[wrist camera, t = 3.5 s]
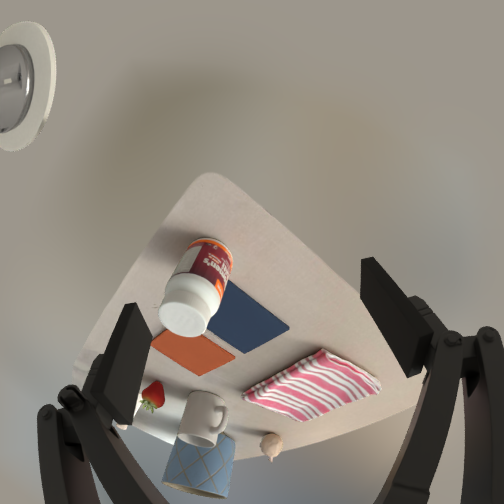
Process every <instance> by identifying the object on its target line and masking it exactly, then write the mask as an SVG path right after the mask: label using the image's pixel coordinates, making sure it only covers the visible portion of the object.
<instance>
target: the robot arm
mask: <svg viewBox="0 0 504 504" xmlns="http://www.w3.org/2000/svg"><path fill="white" fill-rule="evenodd" d="M33 91H34V66H33V61H32V58H31V55H30V53H29V51H28V50H27V49H26V48H25V47H24V46H23V45H21V44H10V45H5V46H3V47H1V48H0V133H6V132H8V131H11V130H13V129H15V128H17V127H18V126H19V125H20V124H21V123H22V121H23V120H24V118H25V117H26V115H27V113H28V110H29V108H30V105H31V101H32V97H33ZM360 299H361V300H362V302H363V303H364V305H365V307H366V308H367V310H368V312H369V313H370V315H371V316H372V318H373V320H374V321H375V323H376V325H377V326H378V328H379V330H380V331H381V333H382V335H383V336H384V338H385V340H386V341H387V343H388V345H389V347H390V348H391V350H392V352H393V354H394V355H395V357H396V359H397V361H398V362H399V364H400V366H401V368H402V369H403V371H404V373H405V375H406V377H407V378H409V377H412V376H414V375H417V374H419V373H421V371H422V368H423V365H424V366H425V368H426V370H427V373H426V375H425V378H424V380H423V383H422V384H423V386H422V390H421V393H420V396H419V400H418V403H417V406H416V409H415V412H414V415H413V418H412V420H411V423H410V426H409V429H408V431H407V434H406V437H405V439H404V442H403V444H402V447H401V449H400V451H399V454H398V456H397V458H396V461H395V463H394V465H393V467H392V470H391V471H390V474H389V476H388V478H387V480H386V482H385V484H384V486H383V488H382V490H381V492H380V493H379V495H378V497H377V499H376V500H375V502H374V503H373V504H427V502H428V499H429V495H430V492H429V488H430V485H431V482H432V480H433V477H434V474H435V472H436V469H437V466H438V463H439V460H440V457H441V454H442V451H443V448H444V445H445V441H446V438H447V434H448V431H449V427H450V423H451V419H452V415H453V411H454V406H455V401H456V397H457V391H458V386H459V380H460V378H462V384H463V395H464V413H465V459H464V475H463V486H462V495H461V503H460V504H504V348H503V345H502V341H501V337H500V335H499V333H498V331H497V330H496V329H494V328H492V327H488V326H486V327H482V328H480V329H479V331H478V333H477V335H476V336H468V337H462V335H461V334H459V333H458V332H455V331H450V330H448V329H447V328H446V327H445V326H444V324H443V323H442V322H441V321H440V319H439V318H438V317H437V316H436V314H435V313H433V311H432V310H431V308H429V306H428V305H427V304H426V302H425V301H424V300H423V299H421V298H419V297H417V296H412V297H409V298H407V296H406V295H405V294H404V293H403V291H402V290H401V289H400V288H399V287H398V285H397V284H396V283H395V282H394V281H393V280H392V278H391V277H390V276H389V275H388V274H387V273H386V271H385V270H384V269H383V268H382V266H381V265H380V264H379V263H378V262H377V261H376V260H375V258H374V257H370V258H365V259H361V288H360ZM152 338H153V336H152V334H151V332H150V330H149V328H148V326H147V324H146V322H145V320H144V318H143V316H142V314H141V312H140V310H139V308H138V305H137V303H136V302H135V303H129V304H125V305H124V308H123V310H122V312H121V314H120V317H119V319H118V321H117V323H116V326H115V328H114V330H113V333H112V335H111V338H110V340H109V342H108V345H107V347H106V350H105V352H104V354H99V355H98V356H97V357H96V359H95V360H94V361H93V363H92V366H91V368H90V369H91V370H90V371H89V373H88V376H87V378H86V381H85V384H84V386H83V389H82V391H80V389H79V388H78V387H77V386H76V385H68V386H66V387H64V388H63V389H62V390H61V391H60V392H59V394H58V402H59V403H60V404H61V405H62V406H63V407H64V408H62V409H58V410H57V409H56V408H55V407H54V406H53V405H51V404H47V405H44V406H43V407H42V408H41V409H40V410H39V412H38V415H37V433H38V451H39V463H40V473H41V480H42V488H43V493H44V500H45V504H100V500H99V497H98V494H97V490H96V487H95V483H94V479H93V475H92V471H91V467H90V463H91V465H92V467H93V469H94V471H95V472H96V474H97V476H98V478H99V480H100V482H101V483H102V485H103V487H104V489H105V490H106V492H107V494H108V495H109V497H110V499H111V500H112V502H113V503H114V504H169V503H168V502H167V500H166V499H165V498H164V497H163V496H162V494H161V493H160V492H159V491H158V489H157V488H156V487H155V486H154V484H153V483H152V482H151V481H150V479H149V478H148V477H147V475H146V474H145V473H144V471H143V470H142V469H141V467H140V466H139V464H138V463H137V461H136V460H135V459H134V457H133V456H132V454H131V453H130V451H129V450H128V448H127V447H126V445H125V444H124V442H123V441H122V439H121V437H120V436H119V434H118V433H117V431H116V429H115V428H114V427H113V426H112V421H113V419H114V420H115V421H116V422H117V423H118V424H119V425H132V422H133V417H134V412H135V408H136V403H137V399H138V394H139V390H140V385H141V381H142V377H143V373H144V369H145V365H146V361H147V357H148V353H149V349H150V345H151V342H152ZM89 461H90V463H89Z"/></svg>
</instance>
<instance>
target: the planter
mask: <svg viewBox="0 0 504 504" xmlns="http://www.w3.org/2000/svg"><path fill="white" fill-rule="evenodd" d="M234 452H235V442H234V441H233V440H232V439H230V438H229V437H227V436H226V435H224V433H223V432H221V433H219V434H218V437H217V442H216V445H215V446H214V447H199V446H195V445H192V444H189V443H186V442H184V441H182V440H181V439H179V438H178V436H177V437H176V440H175V443H174V446H173V449H172V452H171V455H170V457H169V460H168V463H167V466H166V469H165V473H164V475H163V478H162V481H161V482H162V483H163V484H165V485H167V486H169V487H172V488H175V489H177V490H181V491H184V492H187V493H191V494H196V495H200V496H205V497H210V498H219V499H226V498H227V497H228V491H229V485H230V479H231V472H232V465H233V459H234Z"/></svg>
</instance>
